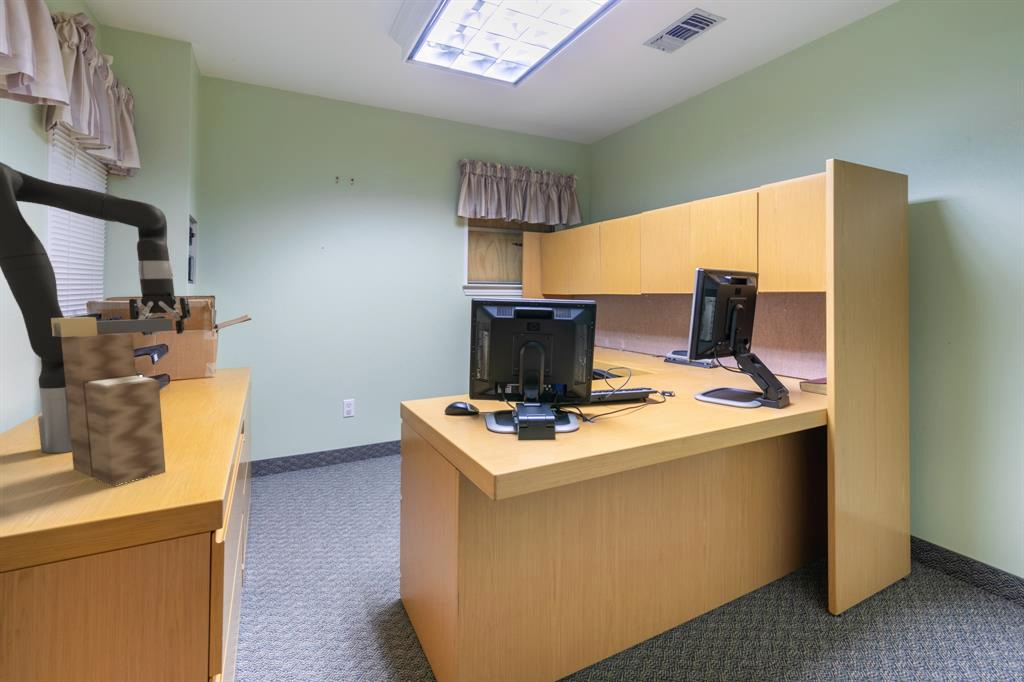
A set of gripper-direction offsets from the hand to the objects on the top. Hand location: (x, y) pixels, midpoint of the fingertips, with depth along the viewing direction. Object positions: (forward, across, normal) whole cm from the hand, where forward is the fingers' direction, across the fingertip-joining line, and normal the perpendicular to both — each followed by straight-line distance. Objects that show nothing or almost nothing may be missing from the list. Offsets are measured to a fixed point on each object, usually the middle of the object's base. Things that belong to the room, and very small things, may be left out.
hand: (163, 334), depth 137 cm
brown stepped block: (+29, +1, -30) cm, 42 cm away
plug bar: (-3, 0, -22) cm, 22 cm away
